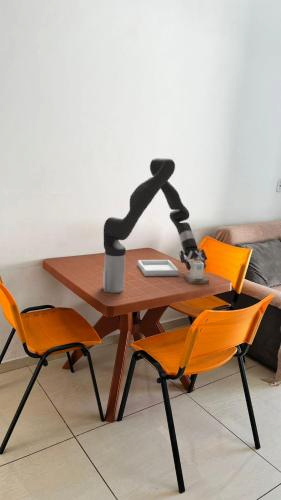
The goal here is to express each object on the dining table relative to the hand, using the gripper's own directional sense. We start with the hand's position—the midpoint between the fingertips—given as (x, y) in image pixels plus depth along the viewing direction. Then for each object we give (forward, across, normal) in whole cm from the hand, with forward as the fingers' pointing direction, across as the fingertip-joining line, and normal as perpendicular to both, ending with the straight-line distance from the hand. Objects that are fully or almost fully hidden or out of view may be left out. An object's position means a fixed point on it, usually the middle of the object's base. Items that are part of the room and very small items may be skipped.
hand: (197, 268), depth 193 cm
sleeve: (+3, 0, +3) cm, 5 cm away
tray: (-9, -13, +18) cm, 24 cm away
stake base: (+4, 0, +4) cm, 6 cm away
